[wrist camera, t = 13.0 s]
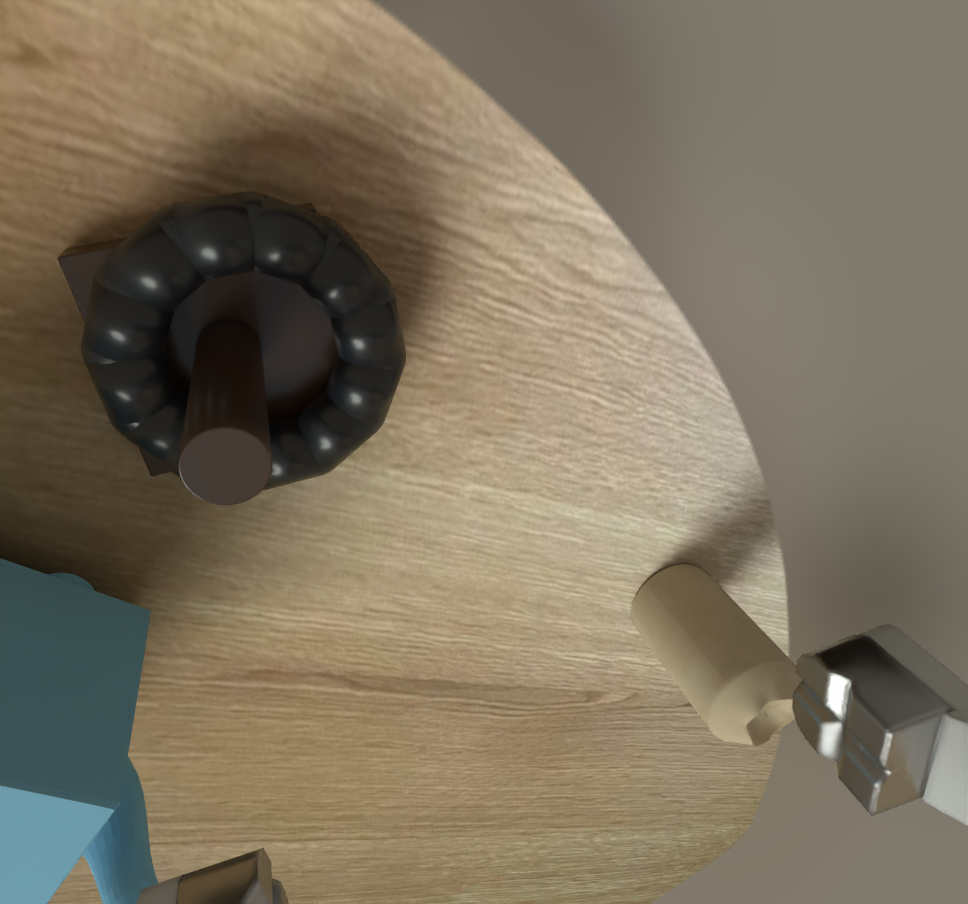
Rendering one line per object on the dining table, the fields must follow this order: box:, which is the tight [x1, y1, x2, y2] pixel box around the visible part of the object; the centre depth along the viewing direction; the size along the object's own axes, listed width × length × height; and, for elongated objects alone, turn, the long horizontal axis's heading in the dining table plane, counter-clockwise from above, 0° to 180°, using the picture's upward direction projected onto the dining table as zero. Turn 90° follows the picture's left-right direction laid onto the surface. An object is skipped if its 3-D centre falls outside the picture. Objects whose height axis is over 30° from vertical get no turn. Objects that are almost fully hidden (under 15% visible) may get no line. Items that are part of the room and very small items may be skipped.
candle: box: [631, 564, 802, 746], centre depth 39 cm, size 6×6×10 cm
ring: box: [81, 191, 406, 490], centre depth 27 cm, size 11×11×3 cm
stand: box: [58, 203, 338, 505], centre depth 24 cm, size 9×9×12 cm
